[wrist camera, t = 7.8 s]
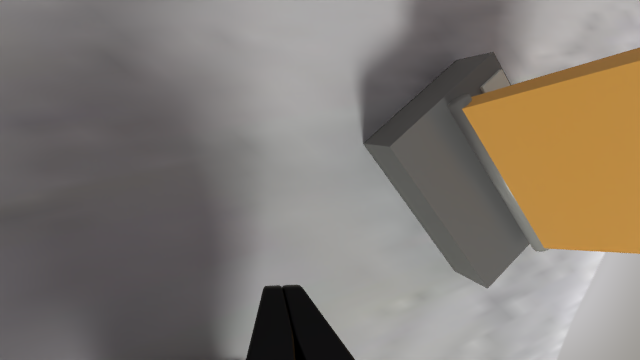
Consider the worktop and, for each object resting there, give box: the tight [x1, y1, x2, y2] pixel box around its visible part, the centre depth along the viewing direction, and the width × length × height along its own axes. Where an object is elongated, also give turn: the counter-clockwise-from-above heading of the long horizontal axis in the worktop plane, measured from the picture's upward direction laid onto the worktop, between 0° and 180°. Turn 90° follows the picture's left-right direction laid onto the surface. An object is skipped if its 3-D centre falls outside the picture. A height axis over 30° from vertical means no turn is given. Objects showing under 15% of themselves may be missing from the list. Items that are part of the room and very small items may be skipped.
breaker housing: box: [364, 52, 530, 288], centre depth 24 cm, size 8×11×3 cm
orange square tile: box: [448, 48, 640, 254], centre depth 18 cm, size 1×10×10 cm, turn 37°
